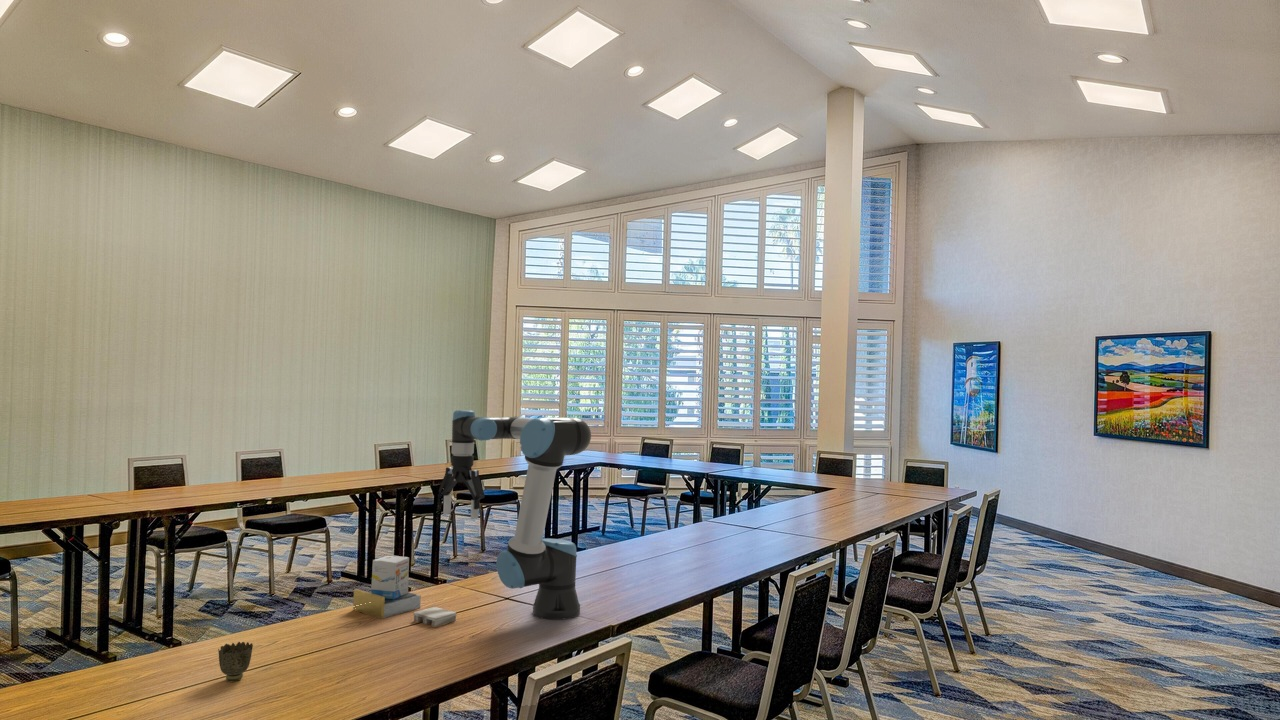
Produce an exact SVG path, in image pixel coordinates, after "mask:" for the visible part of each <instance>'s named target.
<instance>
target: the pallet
mask: <svg viewBox="0 0 1280 720" xmlns="http://www.w3.org/2000/svg"><path fill="white" fill-rule="evenodd" d="M413 617H414V618H413V621H414V622H421V621H422V624H424V625H429V624H431V627H435V628H436V627H439V626H443V625H447V624H450V623H452V622H455V621H457V612H456V611H452V610H448V609H445V608H441V607H437V606H432V607H428V608H425V609H424V608H423V609H420V610H418V611H414V612H413Z"/></svg>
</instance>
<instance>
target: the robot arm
mask: <svg viewBox="0 0 1280 720" xmlns="http://www.w3.org/2000/svg"><path fill="white" fill-rule="evenodd" d="M451 421H452V422H451V423H452V426H451V427H452V428H451V429H452V430H451V431H452V433H451V454H452V455H451V460H450V465H451V466H450V467H446V468H445V473H444V476H443V479H442V481H441V482H440V483H441V484H440V486H439V488H438V493H439V494H441V495H442V505H443V511H442V512H443V513H442V515H443V516H444V515H451V514H452V513H451V512H452V494H451V493H452V491H453V490H454V487H456V485H457V484H458V482H460V483H463V484H465V486H466V487H467V489H468V491H469V492H470V493H469V494H470V495H471V498H472V499H471V502H470V503H471V504H470V519H471V520H475V519H476V520H477V519H479V510H480V507H481V500H482V499H485V496H486V495H485V491H484V488H483V485H482V481H481V479H480V475H479V473H480V471H479V470H478V469H474V470H473V469H472V467H473V466H474V461H475V460H474V455H473V454H474V451H475V450H474V449H475V440H478V441H481V442H482V441H490V440H501V439H503V440H506V439H507V440H509V439H511V440H519V444H520V445H521V446H520V450H521V453H522V454H523V455H524V460H525V461H526V463H527V464H528V466H527V471H526V477H525V480H524V487H523V492H522V496H521V502H520V507H519V512H518V517H517V522H516V525H515V526H516V527H515V533H514V536H513V537H511V538H510V539H508V543H507V547H506V548H507V549H504V550H502V551H500V552H499V553H498V555H497V557H496V571H497V574H498V577H499V579H500V581H501V583H502V584H503V585H504V587H506V588H509V589H511V590H512V589H522V588H524V587H530V586H534V585H535V586H537V585H538V590H537V593H536V596H535V598H534V602H533V605H532V614H533V615H534V616H535V617H538V618H542V619H546V620H547V619H548V620H565V619H572V618H575V617H577V616H579V615H580V614H581V605H580V602H579V598H578V595H577V590H576V577H577V576H576V575H577V573H576V572H577V557H578V555H577V546H576V544H575V543H574V542H572V541H571V540H565V539H559V538H544V535H545V534H544V532H545V528H546V524H547V518H548V514H549V509H550V503H551V500H552V494H553V489H554V483H555V479H556V473H557V470H558V469H559V468H561V467H562V466H563V464H564V459H565V457H566V456H574V455H578V454H580V453H582V452H584V451H585V450H586V449H587V448H588V446H589V444H590V443H591V439H592V432H591V431H592V430H591V428H590V426H589V424H588V423H587V422H585V421H584V420H583V419H581V418H578V417H572V416H571V417H547V416H546V417H545V416H542V417H537V418H525V417H523V416H505V417H504V416H503V417H502V416H501V417H500V416H499V417H498V416H496V417H495V416H493V417H491V416H489V417H488V416H487V417H483V416H481V417H479V416H476V412H475V411H474V410H471V409H469V410H468V409H463V410H462V409H460V410H459V409H458V410H454V411H453V414H452V420H451Z"/></svg>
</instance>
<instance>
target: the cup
mask: <svg viewBox="0 0 1280 720" xmlns="http://www.w3.org/2000/svg"><path fill="white" fill-rule="evenodd" d="M253 647H254V645H253V642H251V643H249V641H248V642H246V643H245V641H242V642H240V641H238V642H237V643H236V644H235V643H234V642H232V643H231V644H228V643H225V644H224V645H221V646H220V648H218V649H217V651H218V659H219V669H220V671H221V673H223V674H224V675H225V679H226V681H227V682H230V681H234V682H239V681H241V679H243V676H244V672H246V671H247V669H248V668H249V666H250V664H251V659H252V653H253Z"/></svg>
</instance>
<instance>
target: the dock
mask: <svg viewBox="0 0 1280 720" xmlns="http://www.w3.org/2000/svg"><path fill="white" fill-rule="evenodd" d="M421 597H422V596H421V595H420V594H418V593H414V592H410V591H408V593H407V594H404V595H402V596H400V597H398V598H396V599H385V597H383V596H380V595H376V594H372V593H371V592H368V591H364V590H362V589H357V588H356V589H353V601H352V602H353V604H352V606H355V607H352V610H353V609H354V610H353V611H355V610H356V611H355V612H358V613H361V612H362V614H364V613H365V615H368V616H372V617H375V618H378V619H384V618H389V617H392V616H396V615H399V614H403V613H406V612H410V611H414V610H417V609H420V608H421ZM369 602H371V603H369ZM365 603H366V604H365ZM360 604H362V605H360ZM356 605H359V606H356ZM355 608H356V609H355Z"/></svg>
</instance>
